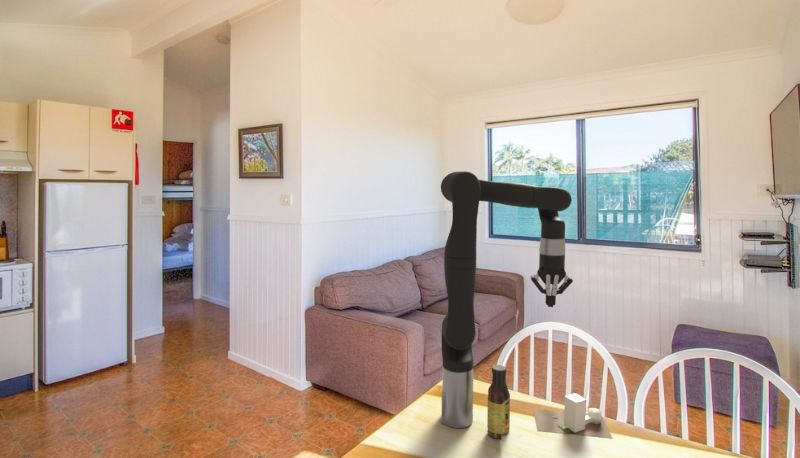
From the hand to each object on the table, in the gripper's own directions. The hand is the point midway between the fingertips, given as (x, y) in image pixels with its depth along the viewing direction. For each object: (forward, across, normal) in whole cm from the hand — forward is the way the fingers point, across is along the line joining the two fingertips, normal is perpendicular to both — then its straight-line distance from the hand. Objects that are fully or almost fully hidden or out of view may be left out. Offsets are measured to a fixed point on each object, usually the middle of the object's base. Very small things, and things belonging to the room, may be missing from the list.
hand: (550, 306), depth 137 cm
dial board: (+33, +5, -12) cm, 35 cm away
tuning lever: (+31, +8, -13) cm, 35 cm away
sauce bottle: (+33, -16, -19) cm, 41 cm away
